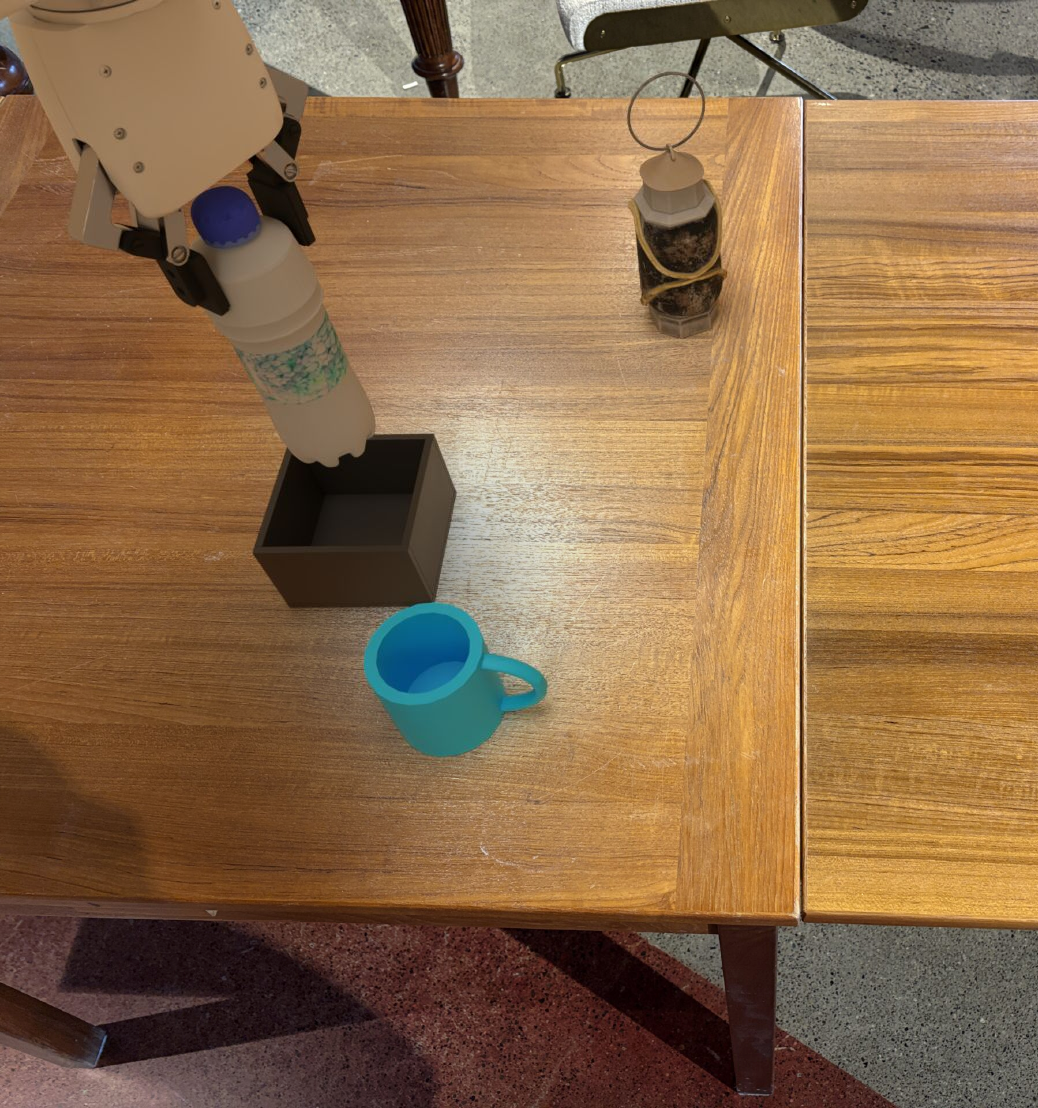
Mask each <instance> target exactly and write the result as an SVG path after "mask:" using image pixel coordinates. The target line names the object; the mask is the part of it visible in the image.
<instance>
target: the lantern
mask: <svg viewBox="0 0 1038 1108" xmlns="http://www.w3.org/2000/svg"><path fill="white" fill-rule="evenodd" d="M667 76H680V77H683V78H686V79H688V80H689V81H690V82H692V83H693V84H694V85H695V87H696V88H697V89H698V92H699V94H700V96H701V112H700V117H699V119H698V121H697V124H696V125H695V127H694V128H693V130H692V131H691V132H690V133H689V134H688V135H687V136H686V137H684V138H683V139H682V140H681V141H679V142H677V143H675V144H671V143H670V142H667V143H666V144H665V146H664V147H654V146H649V145H647V144H645V143H644V142H642V141H641V140H640V139H639V138H638V137H637V136H636V134H635V132H634V130H633V128H632V124H631V113H632V108H633V105H634V102H635V100H636V98H637V97H638V95H639V94H640V93H641V92H642V90H644V88H645V87H646V86H648V85H649V84H650V83H652V82H653V81H655V80H657V79H660V78H662V77H667ZM705 112H706V98H705V93H704V91H703V89H702V87H701V85H700V83H699V82H698V81H697V80H696V79H695V78H694V77H693V76H691V75H689V74H687V73H684V72H680V71H672V70H671V71H664V72H661V73H658V74H655V75H653V76H652V77H650V78H648V79H647V80H646V81H644V82H643V83H642V84H641V85H640V86H639V87H638V88H637V90H636V91H635V92H634V94H633V96H632V97H631V99H630V102H629V104H628V109H627V113H626V117H627V118H626V119H627V121H626V122H627V127H628V131H629V133H630V135H631V138H633V140H634V141H635V142H636V143H637V144H638V145H640V146H641V147H642V148H645V149H647V150H649V151H655V152H662V153H660V154H657V155H655V156H652V157H650V158H647V159H646V160H645V161H643V162H642V164H641V165H640V166H639V169H638V172H639V173H638V174H639V176H640V178H641V180H642V185H641V186H640V188H639V189H638V190H637V192H636V193H635V195H634V196H633V198H631V200H628V203H627V209H628V210H629V211H630V213H631V215H632V217H633V222H634V231H635V233H634V234H635V243H636V244H635V245H636V255H637V264H638V274H639V276H638V277H639V285H640V287H639V288H640V292H641V295H640V298H639V301H640V304H641V305H642V306H645V307H646V306H648V312H649V315H650V317H651V319H652V321H653V322H654V324H655V327H656V328H657V329H658V332H659V333H661V334H665V335H668V336H672V337H675V338H679V339H683V338H686V337H690V336H694V335H696V334H700V333H703V332H706V331H709V330H712V327H713V326H714V324H715V322H716V320H717V318H718V317H719V315H720V314H719V313H720V312H719V302H718V298H719V297H720V295H721V293H722V289H723V284H724V283H723V282H724V281H725V280H726V279H727V277H728V270H727V269H725V268H723V267H722V266H723V265H722V256H721V249H722V241H723V211H722V206H721V202H720V200H719V197H718V195H717V193H716V191H715V189H714V187H713V185H712V183H711V182H710V181H709V180H708V179H706V178H703V177H704V175H705V168H704V166H703V163H702V162H701V160H699V159H698V158H697V157H696V156H695V155H694V154H691V153H689V152H685V151H676V150H675V148H678V147H680V146H682V145H684V144H685V143H686V142H687V141H689V140H690V139H691V138H692V137H693V136H694V135H695V133H696V132H697V131H698V129H699V128H700V126H701V124H702V122H703V119H704V116H705Z"/></svg>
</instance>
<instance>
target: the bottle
mask: <svg viewBox="0 0 1038 1108" xmlns="http://www.w3.org/2000/svg"><path fill="white" fill-rule="evenodd" d="M189 214H190V218H191V221H192V224H193V227H194V228H195V230H196V232H197V233H198V235H197V236H196V237H195V239H194V240H193V241H192V242H191V244H189V249H192V250H194V251H196V252H199V253H200V254H202V255H203V256H204V257H205V259H206V261H207V263H208V265H209V267H210V268H211V270H212V272H213V274H214V276H215V278H216V280H217V281H218V283H219V285H220V287H221V289H222V291H223V293H224V295H225V296H226V298H227V300H228V302H229V304H230V307H229V311H228V312H227V313H226V314H225V315H223V316H219V315H217V314H215V313H213V312H211V311H209V310H207V309H204V308H202V309H203V311H204V312H205V314H206V315H207V316H208V318H210V319H211V321H212V324H213V326H214V328H215V329H216V330H217V332H218V333H219V334H220V335H222V336H223V337H225V338H227V339H228V341H229V342H230V344H231V346H232V348H233V350H234V352H235V353H236V355H237V357H238V358H239V360H240V362H241V364H242V365H243V367H244V369H245V371H246V373H247V375H248V376H249V379H250V380H251V382H252V384H253V385H254V387H255V389H256V391H257V392H258V393H259V396H260V398H261V400H262V402H263V404H264V406H265V408H266V411H267V413H268V415H269V418H270V420H271V422H272V424H273V427H274V429H275V431H276V433H277V434H278V436H279V439H280V440H281V441H282V443H283V444H284V445H285V447H286V448H288V449H289V450H290V451H291V453H292V454H293V455H294V456H296V457H297V458H298V459H299V460H301V461H303V462H305V463H313V462H315V461H318V462H320V463H322V464H323V465H325V466H327V467H335V466H337V465H338V464H339V460H338V458H339V457H340V456H342V455H345V454H347V453H351V455H352V456H354V457H358V456H360V455H361V454H362V453H363V452H364V450H365V444H366V439H369V438H371V437H372V436H373V435H374V434H376V427H377V423H376V416H375V413H374V409H373V406H372V403H371V401H370V399H369V397H368V394H367V392H366V390H365V388H364V386H363V384H362V383H361V381H360V379H359V377H358V376H357V373H356V372H355V370H354V368H353V367H352V365H351V363H350V361H349V359H348V356H347V354H346V352H345V349H344V348H343V347H344V346H343V345H342V342H341V341H340V338H339V336H338V334H337V331H336V329H335V327H334V325H333V322H332V320H331V318H330V316H329V313H328V312H327V309H326V307H325V305H324V297H325V294H324V289H323V286H322V284H321V282H320V281H319V278H318V272H317V270H316V267H315V266H314V265H313V263H312V262H311V261H310V259H309V258H308V257H307V254H306V253H305V252H304V250H303V248H302V247H301V245H300V244H298V242H297V241H296V239H295V237H294V236H293V234H292V233H291V231H290V230H289V228H288V227H287V226H286V225H285V224H283V223H282V222H281V221H279V220H277V219H275V218H272V217H268V216H264V215H263V214H260V213H259V210H258V208H257V207H256V204H255V202H254V201H253V199H252V198H251V197H250V196H249V194H248V193H246V192H245V191H244V190H242V189H240V188H238V187H236V186H231V185H219V186H214V187H212V188H208V189H206V190H205V191H204V192H202V193H201V194H199V195H198V196H197V197H195V198H194V199H193V200H192V203H191V206H190V210H189Z"/></svg>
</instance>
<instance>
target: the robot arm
mask: <svg viewBox="0 0 1038 1108" xmlns="http://www.w3.org/2000/svg"><path fill="white" fill-rule="evenodd" d="M241 17H242V16H241V15H240V13H239V12H238V10H237V8H236V7H235V5H234V4H233V1H232V0H0V21H2V20H4V19H6V18H8V21H9V25H10V28H11V32H12V35H13V38H14V41H15V43H16V46H17V49H18V52H19V54H20V57H21V61H22V63H23V65H24V68H25V71H26V73H27V75H28V78H29V80H30V82H31V84H32V88H33V89H34V91H35V94H36V96H37V98H38V100H39V102H40V105H41V107H42V109H43V111H44V113H45V115H46V117H47V119H48V121H49V123H50V125H51V127H52V130H53V131H54V133H55V135H56V137H57V139H58V141H59V143H60V145H61V148H63V151H64V152H65V154H66V156H67V158H68V161H69V162H70V164H71V166H72V167H73V169H74V171H75V172H76V174H77V177H76V182H75V184H74V190H73V196H72V200H71V205H70V210H69V215H68V219H67V220H68V221H67V225H66V233H67V235H68V236H69V238H71V239H72V240H75V241H77V242H79V243H81V244H83V245H85V246H88V247H91V248H95V249H100V250H106V251H111V252H117V253H118V252H119V253H125V254H129V255H130V256H134V257H138V258H139V257H140V258H145V259H149V260H155V262H156V264H157V265H158V267H159V268H160V270H161V272H162V273H163V275H164V277H165V279H166V280H167V282H168V283H169V285H170V287H171V289H172V291H173V292H174V294H175V295H176V296H177V298H178V299H179V300H180V301H181V302H183V303H184V304H186V305H188V306H190V307H193V308H196V307H200V308H202V309H203V308H204V309H207V310H209V311H211V312H213V313H215V314H217V315H219V316H223V315H225V314H226V313H227V312H228V311H229V307H230V304H229V302H228V300H227V298H226V296H225V295H224V293H223V291H222V289H221V287H220V285H219V283H218V281H217V280H216V278H215V276H214V274H213V272H212V270H211V268H210V267H209V265H208V263H207V261H206V259H205V257H204V256H203V255H202V254H200V253H199V252H196V251H194V250H192V249H189V248H190V243H189V236H188V228H187V227H188V226H187V220H186V219H187V218H186V211H185V206H186V205H187V204H188V203H190V202H191V201H193V200H194V199H195V198H196V197H197V196H198V195H200V194H201V193H202V192H204V191H206V190H208V189H210V187H212V186H214V185H215V184H216V183H218V182H219V181H221V180H222V179H223V178H225V177H226V176H227V175H229V174H230V173H232V172H233V171H234V170H235V169H237V168H238V167H240V166H241V165H242V164H244V163H246V164H247V165H249V167H251V168H252V169H251V170H249V171H248V172H246V173H245V175H246V177H247V184H248V186H249V189H250V191H251V193H252V195H253V197H254V199H255V201H256V203H257V205H258V208H259V210H260V212H261V215H264V216H268V217H272V218H275V219H277V220H279V221H281V222H282V223H283V224H285V225H286V226H287V227H288V228H289V230H290V231H291V233H292V234H293V236H294V237H295V239H296V241H297V242H298V244H299V245H300V246H302V247H310V246H312V245H313V244H314V243H315V242H316V241H317V239H316V236H315V234H314V231H313V230H312V226H311V224H310V221H309V220H308V219H309V213H308V211H307V207H306V206H305V202H304V201H303V199H302V197H301V196H302V195H301V193H300V192H299V189H298V186H297V184H296V182H295V181H296V180H297V179H298V178H299V175H300V166H299V164H298V163H297V161H296V156H297V152H298V147H299V144H300V139H301V137H302V125H301V124H300V121H301V120H302V119H303V116H304V112H305V108H306V104H307V99H308V94H309V87H308V84H307V82H305V81H304V80H301V79H300V78H299V79H298V78H296V77H294V76H292V75H289V74H286V73H284V72H282V71H279V70H277V69H275V68H273V67H270V66H268V65H266V64H265V63H264V61H263V58H262V56H261V55H260V53H259V50H258V48H257V46H256V45H255V42H254V40H253V38H252V36H251V33H250V32H249V30H248V29H247V27H246V25H245V23H244V21H243V19H242V18H241ZM119 194H121V195H122V196H123V197H124V198H125V200H127V205H128V211H129V216H130V225H128V224H123V223H120V222H112V213H113V207H114V202H115V198H116V196H117V195H119ZM204 309H203V310H204Z"/></svg>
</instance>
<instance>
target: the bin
mask: <svg viewBox="0 0 1038 1108" xmlns="http://www.w3.org/2000/svg"><path fill="white" fill-rule="evenodd" d="M338 460H339V464H338V465H337V466H335V467H327V466H325V465H323V464H322V463H320V462H318V461H315V462H313V463H305V462H303V461H301V460H299V459H298V458H297V457H296V456H294V455H293V454H292V453H291V451H290V450H289V449H288V448H287V447H286V448H285V451H284V455H283V458H282V460H281V463H280V467H279V470H278V472H277V476H276V479H275V482H274V485H273V488H272V491H271V494H270V496H269V500H268V502H267V506H266V508H265V509H266V510H265V512H264V515H263V518H262V522H261V525H260V527H259V531H258V533H257V537H256V540H255V543H254V547H253V549H252V555H253V557H254V558H255V559H256V561H257V562H258V564H259V565H260V566H261V569H262V570H263V571H264V573H265V574H266V575H267V577H268V578H269V580H270V581H271V583H272V584H273V586H274V588H276V590H277V591H278V593H279V594H280V596H281V597H282V598H283V600H284V602H285V603H286V605H287V607H289V608H290V609H291V608H293V609H294V608H296V609H297V608H373V607H374V608H375V607H376V608H378V607H379V608H380V607H381V608H383V607H385V608H386V607H411V606H414V605H417V604H423V603H433V602H436V597H437V592H438V587H439V582H440V577H441V573H442V572H441V571H442V567H443V561H444V557H445V552H446V548H447V541H448V537H449V533H450V527H451V522H452V517H453V512H454V508H455V507H454V506H455V501H456V496H457V490H456V488H455V484H454V481H453V479H452V477H451V474H450V471H449V468H448V466H447V464H446V461H445V459H444V456H443V453H442V451H441V448H440V446H439V443H438V440H437V438H436V435H435V433H432V432H431V433H374V435H373V436H372V437H371V438H369V439H366V444H365V450H364V452H363V453H362V454H361V455H360V456H358V457H354V456H352V455H351V453H347V454H345V455H342V456H340V457H339V458H338Z"/></svg>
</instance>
